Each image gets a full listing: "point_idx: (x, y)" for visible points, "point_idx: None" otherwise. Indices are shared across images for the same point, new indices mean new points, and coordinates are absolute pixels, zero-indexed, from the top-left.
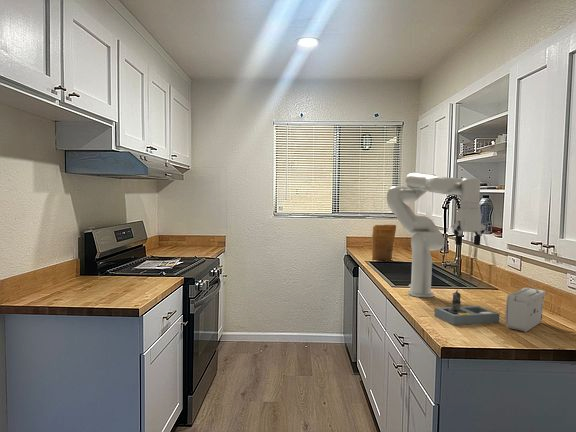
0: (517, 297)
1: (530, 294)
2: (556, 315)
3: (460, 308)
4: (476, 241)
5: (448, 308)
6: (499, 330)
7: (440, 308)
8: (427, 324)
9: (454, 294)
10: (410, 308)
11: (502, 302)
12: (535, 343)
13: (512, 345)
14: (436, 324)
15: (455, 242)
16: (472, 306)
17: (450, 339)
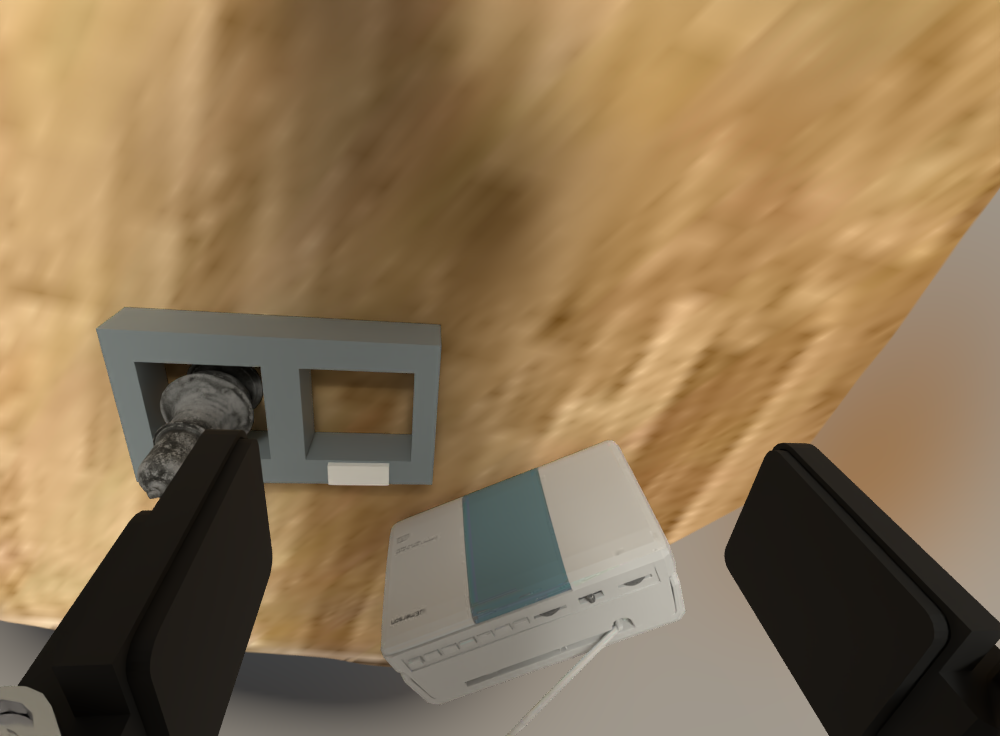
0: (402, 676)
1: (509, 665)
2: (809, 425)
3: (273, 376)
4: (784, 564)
5: (188, 361)
6: (342, 530)
7: (128, 352)
8: (8, 419)
9: (139, 481)
10: (4, 98)
11: (842, 147)
12: (366, 631)
13: (266, 635)
14: (64, 427)
15: (143, 513)
16: (387, 355)
17: (44, 575)
